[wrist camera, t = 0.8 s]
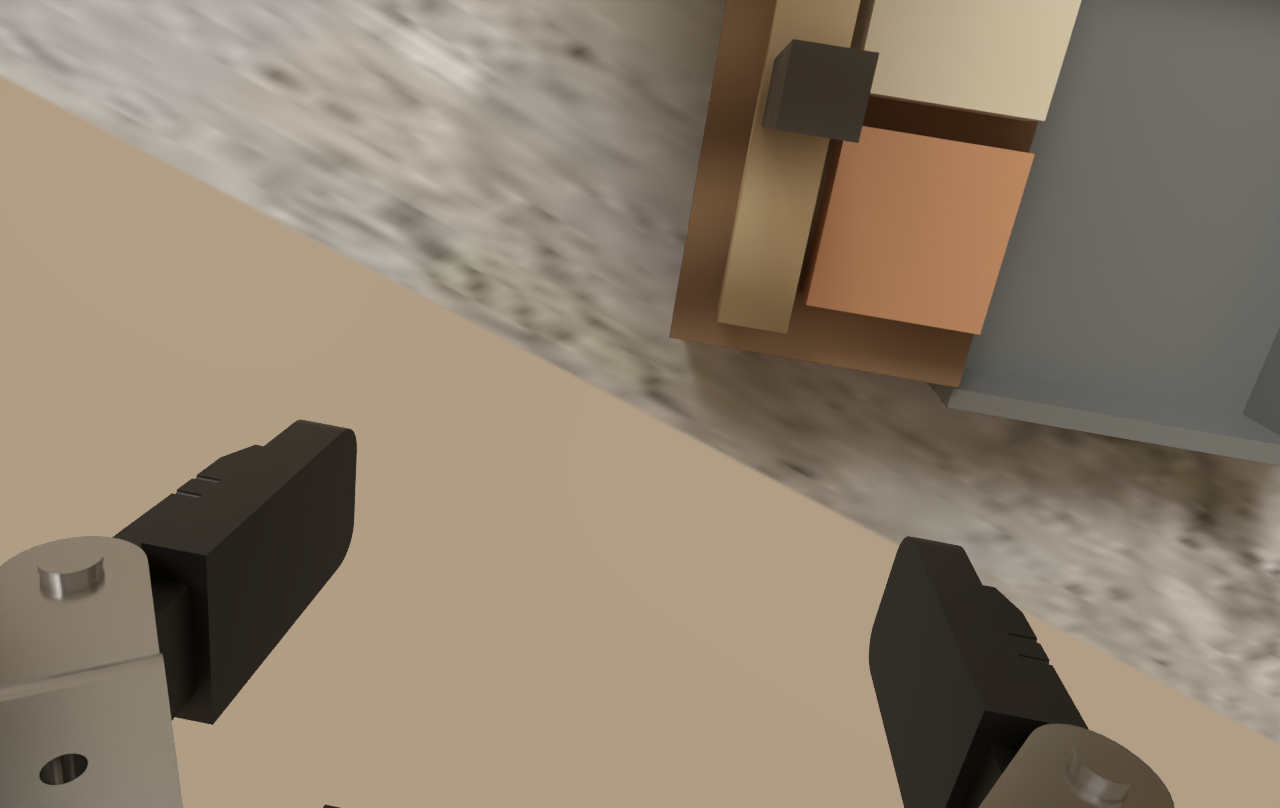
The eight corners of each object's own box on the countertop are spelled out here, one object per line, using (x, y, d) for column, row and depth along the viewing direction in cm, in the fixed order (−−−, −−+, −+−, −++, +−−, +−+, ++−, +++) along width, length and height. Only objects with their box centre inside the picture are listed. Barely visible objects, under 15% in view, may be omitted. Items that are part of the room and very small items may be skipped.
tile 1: (839, 122, 28) (847, 123, 26) (1014, 151, 28) (1034, 153, 26) (800, 293, 30) (806, 304, 28) (963, 321, 30) (980, 334, 28)
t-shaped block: (806, -161, 26) (851, -307, 17) (883, -149, 26) (969, -291, 17) (717, 306, 31) (716, 383, 22) (781, 317, 31) (806, 399, 22)
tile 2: (890, -110, 26) (903, -127, 24) (1082, -81, 26) (1110, -96, 24) (846, 92, 28) (854, 90, 26) (1023, 120, 28) (1044, 121, 26)
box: (1071, -158, 29) (1130, -205, 25) (1474, -98, 29) (1605, -135, 24) (920, 373, 36) (947, 407, 32) (1245, 429, 36) (1316, 472, 31)
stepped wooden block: (758, -172, 30) (765, -225, 25) (1061, -126, 30) (1126, -172, 25) (675, 308, 36) (669, 337, 31) (926, 351, 36) (958, 387, 31)
